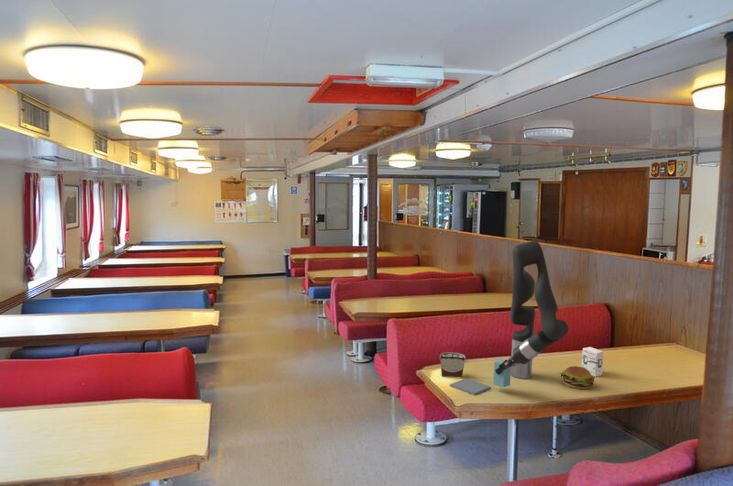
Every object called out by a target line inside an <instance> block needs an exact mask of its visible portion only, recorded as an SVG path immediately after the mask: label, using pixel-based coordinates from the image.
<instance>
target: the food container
mask: <svg viewBox="0 0 733 486" xmlns="http://www.w3.org/2000/svg"><path fill="white" fill-rule="evenodd" d="M438 360H440V370H441V371H440V372H441V377H442V378H444V377H445V378H458V377H459V378H463V374H464V369H465V362H466V361H467V357H466V355H464V354H463V353H459V352H452V351H449V352H448V351H447V352H442V353H440V355H439V358H438ZM459 378H458V379H459Z"/></svg>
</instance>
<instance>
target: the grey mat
mask: <svg viewBox="0 0 733 486" xmlns="http://www.w3.org/2000/svg"><path fill="white" fill-rule="evenodd" d="M449 387H451V388H453V389H457V390H459V391H461V392H465V393H467V394H469V395H473V396H476V395H478V394H480V393H483V392H485V391H488V390H490V389H492V386H490V385H487V384H484V383H482V382H480V381H475V380H473V379H471V378H468V377H467V378H463V379H461V380H458V381H455V382H452V383H449Z"/></svg>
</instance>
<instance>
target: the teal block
mask: <svg viewBox="0 0 733 486" xmlns="http://www.w3.org/2000/svg"><path fill="white" fill-rule="evenodd" d="M505 360H506V359H498V360H495V361H493V362H494V364H493V382H492V383H493V385H495V386H497V387H500V388H502V389H504V388H506V387H508V386H511V368H510V369H506V370H505V371H503V372H502V373H500V374H499V375H498V374H497V373H496V372H495V370H496V369H498V368H499V365H500V364H502V363H503V362H504V361H505Z"/></svg>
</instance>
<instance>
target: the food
mask: <svg viewBox="0 0 733 486" xmlns="http://www.w3.org/2000/svg"><path fill="white" fill-rule="evenodd" d="M559 374H560V378H562V379H563V381H562V382H563V384H564V385H565V386H567V387H570V388H573V389H577V390H587V389H588V390H589V389H591V387H592V386H593V385H594V382H595V379H596V377H594V376H593V375H591V373H590V372H589V371H588V370H587V369H585V368H582V367H581V366H575V365H574V366H568V367H567V368H565V369H564V370H562V371H561V372H559Z"/></svg>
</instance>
